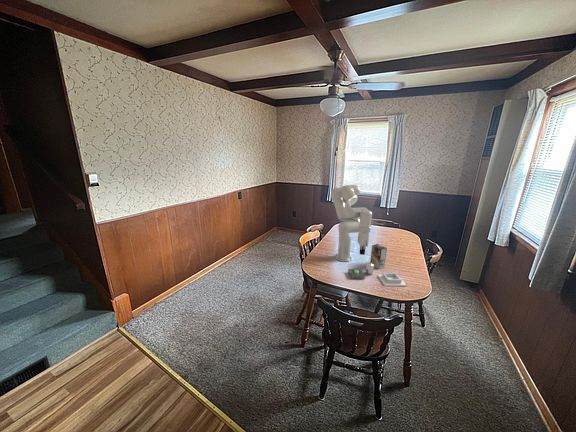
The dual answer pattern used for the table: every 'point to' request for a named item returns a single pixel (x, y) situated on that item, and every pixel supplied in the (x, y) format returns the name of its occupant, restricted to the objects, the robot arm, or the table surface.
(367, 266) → the cylinder
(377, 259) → the coffee box
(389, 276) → the white square tray
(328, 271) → the table surface
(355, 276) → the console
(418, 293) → the table surface
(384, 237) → the table surface
